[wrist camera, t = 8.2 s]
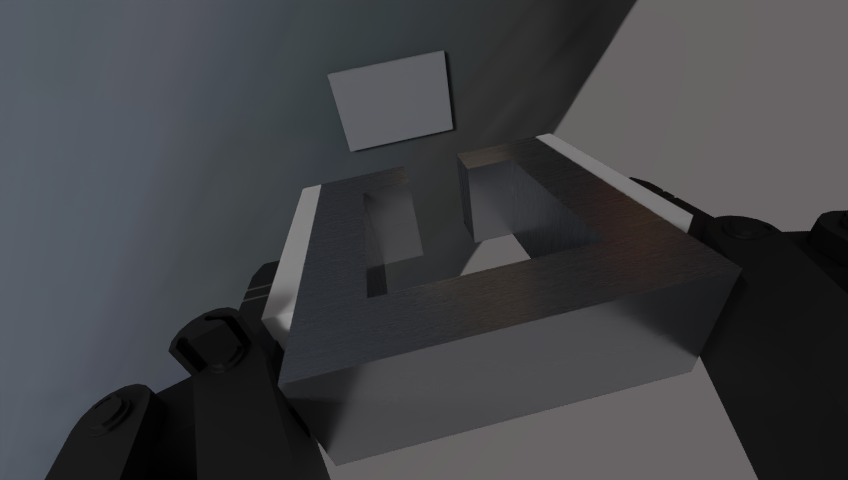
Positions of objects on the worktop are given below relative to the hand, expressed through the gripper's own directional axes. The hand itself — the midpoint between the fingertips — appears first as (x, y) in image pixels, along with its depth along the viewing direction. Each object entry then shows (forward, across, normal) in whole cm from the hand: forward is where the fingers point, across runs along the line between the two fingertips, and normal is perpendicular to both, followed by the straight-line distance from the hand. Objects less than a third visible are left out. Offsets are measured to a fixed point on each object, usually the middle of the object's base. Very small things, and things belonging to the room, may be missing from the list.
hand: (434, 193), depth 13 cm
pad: (+17, 0, 0) cm, 17 cm away
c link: (0, 0, 0) cm, 0 cm away
